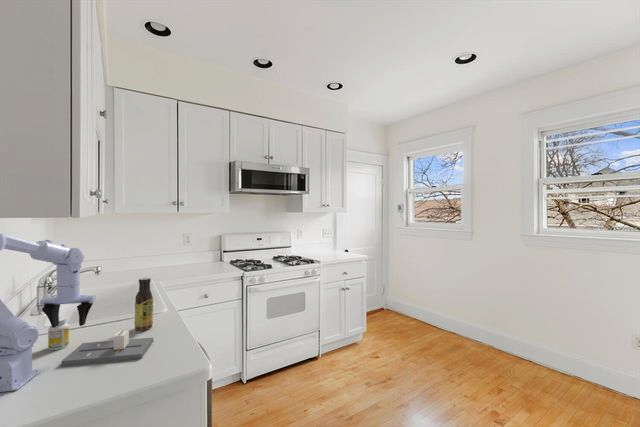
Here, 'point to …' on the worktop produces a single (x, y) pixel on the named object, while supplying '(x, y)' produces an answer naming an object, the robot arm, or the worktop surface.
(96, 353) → the fader console
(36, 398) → the worktop surface
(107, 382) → the worktop surface
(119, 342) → the fader cap
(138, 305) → the sauce bottle
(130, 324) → the worktop surface
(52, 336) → the supplement bottle
